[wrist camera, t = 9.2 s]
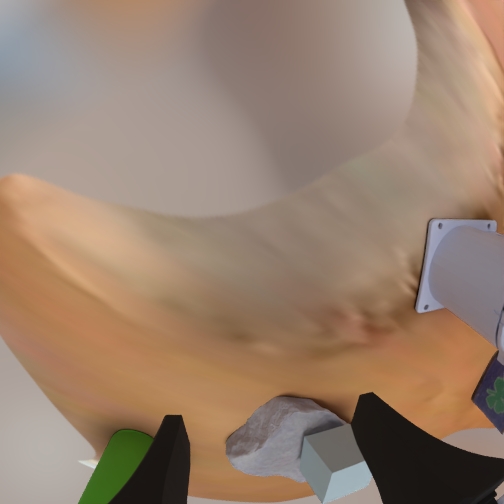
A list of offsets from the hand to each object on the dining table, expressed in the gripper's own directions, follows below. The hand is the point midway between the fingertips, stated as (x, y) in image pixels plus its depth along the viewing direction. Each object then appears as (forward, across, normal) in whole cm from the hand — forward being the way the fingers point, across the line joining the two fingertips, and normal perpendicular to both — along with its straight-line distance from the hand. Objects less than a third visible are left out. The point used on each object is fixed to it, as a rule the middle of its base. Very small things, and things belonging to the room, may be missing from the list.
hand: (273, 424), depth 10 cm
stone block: (+11, -4, +15) cm, 19 cm away
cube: (+7, -6, +14) cm, 17 cm away
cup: (+11, +12, +16) cm, 23 cm away
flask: (+11, -33, +16) cm, 38 cm away
